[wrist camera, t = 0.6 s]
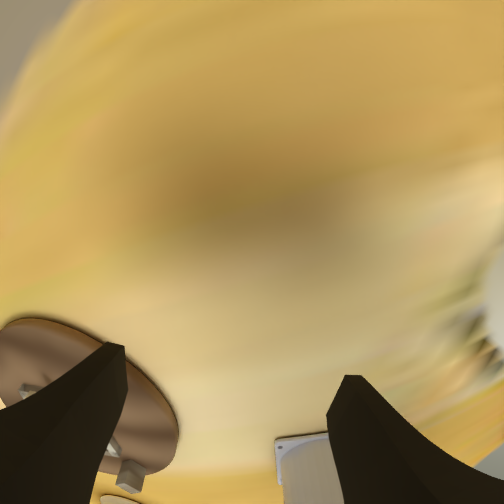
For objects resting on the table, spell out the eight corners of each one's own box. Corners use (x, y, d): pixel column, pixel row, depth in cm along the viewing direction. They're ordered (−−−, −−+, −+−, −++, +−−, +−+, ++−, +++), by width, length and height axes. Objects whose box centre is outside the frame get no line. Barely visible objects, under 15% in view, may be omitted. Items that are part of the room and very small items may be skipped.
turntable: (199, 472, 26) (196, 506, 22) (50, 450, 26) (38, 475, 22) (139, 317, 19) (117, 359, 15) (-32, 315, 19) (-58, 339, 15)
